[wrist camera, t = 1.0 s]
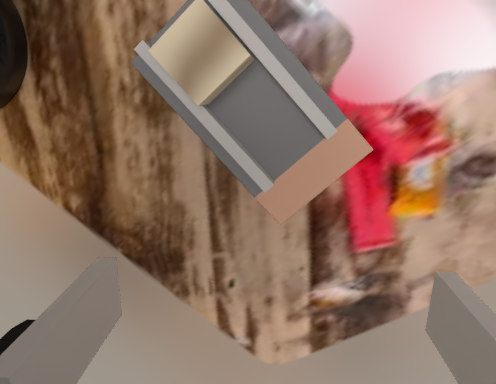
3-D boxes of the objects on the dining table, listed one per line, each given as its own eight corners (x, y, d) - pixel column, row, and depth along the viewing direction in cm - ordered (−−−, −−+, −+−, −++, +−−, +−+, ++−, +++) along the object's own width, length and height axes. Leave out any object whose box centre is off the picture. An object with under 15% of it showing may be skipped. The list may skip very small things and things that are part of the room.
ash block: (165, 56, 35) (147, 50, 30) (210, 9, 34) (199, -5, 29) (209, 104, 36) (198, 106, 31) (254, 59, 35) (250, 55, 30)
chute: (133, 63, 37) (123, 61, 34) (220, -32, 34) (216, -41, 31) (280, 222, 40) (280, 231, 37) (371, 148, 37) (378, 152, 34)
